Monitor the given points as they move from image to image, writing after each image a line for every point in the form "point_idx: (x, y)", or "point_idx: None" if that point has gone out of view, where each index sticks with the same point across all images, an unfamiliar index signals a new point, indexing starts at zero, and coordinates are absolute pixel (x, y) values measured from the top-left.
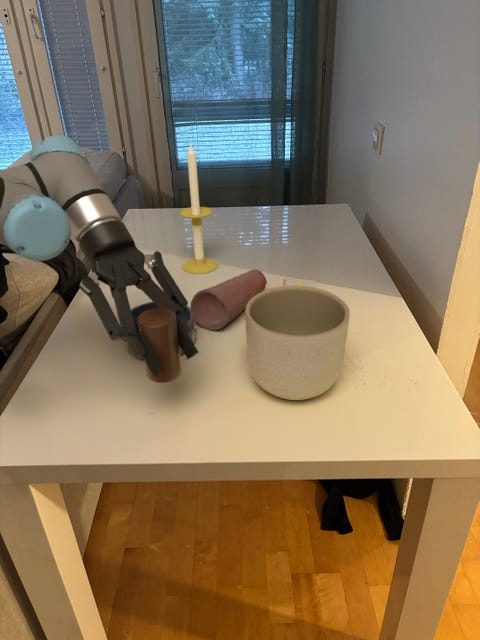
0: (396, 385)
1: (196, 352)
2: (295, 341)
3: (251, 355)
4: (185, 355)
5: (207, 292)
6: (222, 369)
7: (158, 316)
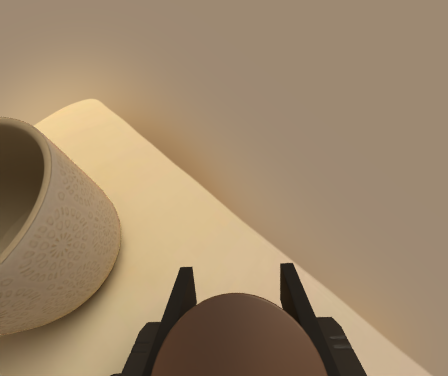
0: None
1: (185, 268)
2: (53, 145)
3: (85, 262)
4: None
5: None
6: (98, 373)
7: None
